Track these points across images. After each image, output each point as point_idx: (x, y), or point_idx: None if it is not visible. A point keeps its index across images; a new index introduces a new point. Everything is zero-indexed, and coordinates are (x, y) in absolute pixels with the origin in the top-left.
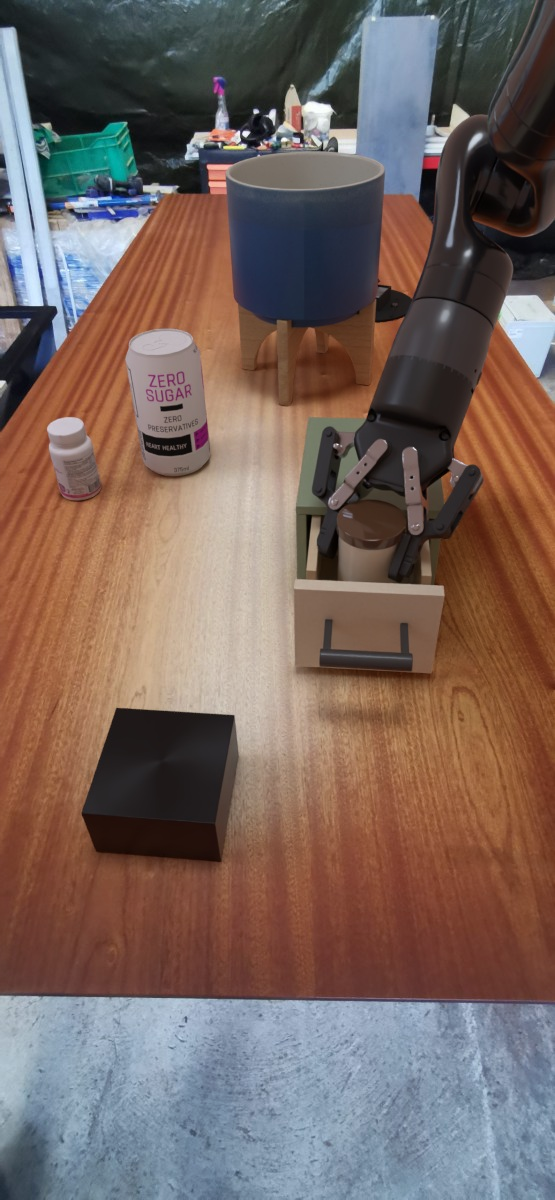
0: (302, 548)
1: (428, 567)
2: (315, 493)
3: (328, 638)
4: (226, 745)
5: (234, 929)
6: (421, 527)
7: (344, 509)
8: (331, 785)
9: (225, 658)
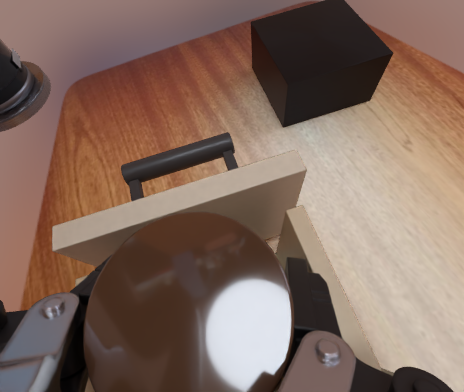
0: None
1: None
2: (423, 377)
3: (230, 164)
4: (277, 61)
5: (226, 47)
6: (36, 309)
7: (281, 328)
8: (203, 133)
9: (363, 212)
